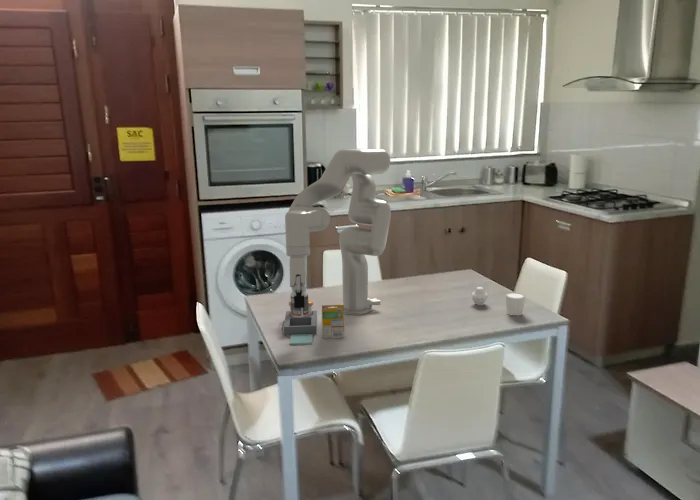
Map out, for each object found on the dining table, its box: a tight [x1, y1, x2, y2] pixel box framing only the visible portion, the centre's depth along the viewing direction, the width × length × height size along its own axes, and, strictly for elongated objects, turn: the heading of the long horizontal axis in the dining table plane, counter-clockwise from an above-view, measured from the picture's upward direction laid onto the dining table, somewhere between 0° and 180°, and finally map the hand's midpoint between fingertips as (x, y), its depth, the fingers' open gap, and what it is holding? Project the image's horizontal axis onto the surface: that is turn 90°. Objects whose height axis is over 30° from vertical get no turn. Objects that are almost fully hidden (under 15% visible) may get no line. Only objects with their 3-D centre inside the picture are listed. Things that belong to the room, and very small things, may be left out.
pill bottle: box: [289, 284, 309, 317], centre depth 181 cm, size 6×6×10 cm
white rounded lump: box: [471, 286, 489, 306], centre depth 215 cm, size 6×6×7 cm
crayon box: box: [321, 304, 345, 339], centre depth 185 cm, size 7×3×12 cm, turn 92°
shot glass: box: [505, 292, 526, 315], centre depth 205 cm, size 7×7×7 cm
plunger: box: [308, 299, 314, 315], centre depth 200 cm, size 4×4×7 cm
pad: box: [289, 334, 313, 346], centre depth 184 cm, size 7×7×1 cm
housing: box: [283, 310, 318, 336], centre depth 195 cm, size 11×15×3 cm
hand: (299, 303), depth 181 cm, fingers closed on pill bottle, 5 cm apart
